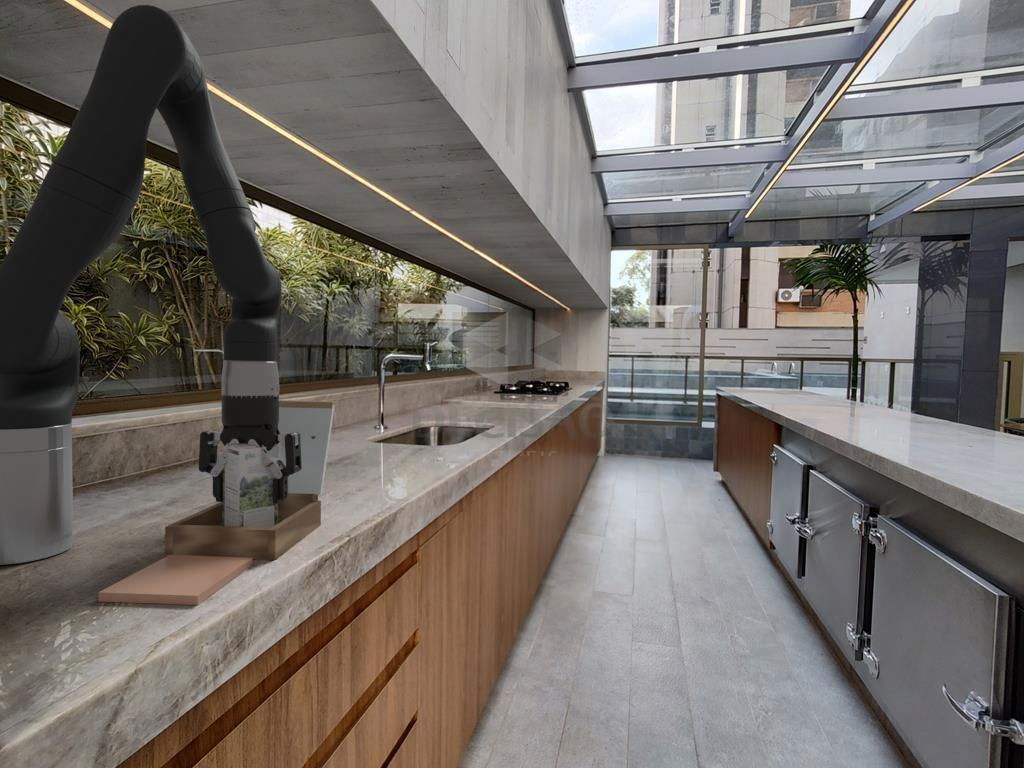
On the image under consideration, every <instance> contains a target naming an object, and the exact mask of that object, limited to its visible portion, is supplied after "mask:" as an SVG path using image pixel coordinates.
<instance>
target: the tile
mask: <svg viewBox="0 0 1024 768" xmlns="http://www.w3.org/2000/svg"><path fill="white" fill-rule="evenodd" d="M253 560H254V559H253V558H247V557H217V556H187V555H168V556H164V557H162V558H161V559H159V560H157V561H155V562H153V563H152V564H151V563H150V564H149V565H147V566H146V567H143V568H142V569H140V570H138V571H136V572H134V573H132V574H130V575H128V576H127V577H125V578H123V579H120V580H119V581H118V582H115V583H113V584H112V585H110V586H108V587H106V588H104V589H102V590H100V591H98V602H105V603H106V602H110V603H131V604H132V603H133V604H135V603H136V604H137V603H139V604H161V605H164V604H165V605H185V606H190V605H191V606H198V605H200V604H201V603H203V602H204V601H206V599H208V598H210V597H211V596H212V595H214V594H215V593H216V592H218V591H220V590H221V589H222V588H224V587H225V586H226V585H227V584H229V583H231V582H232V581H233V580H235V579H236V578H238V576H240V575H241V574H243V573H244V572H245V571H247V570H248V569H249V568H251V567H253Z"/></svg>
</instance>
